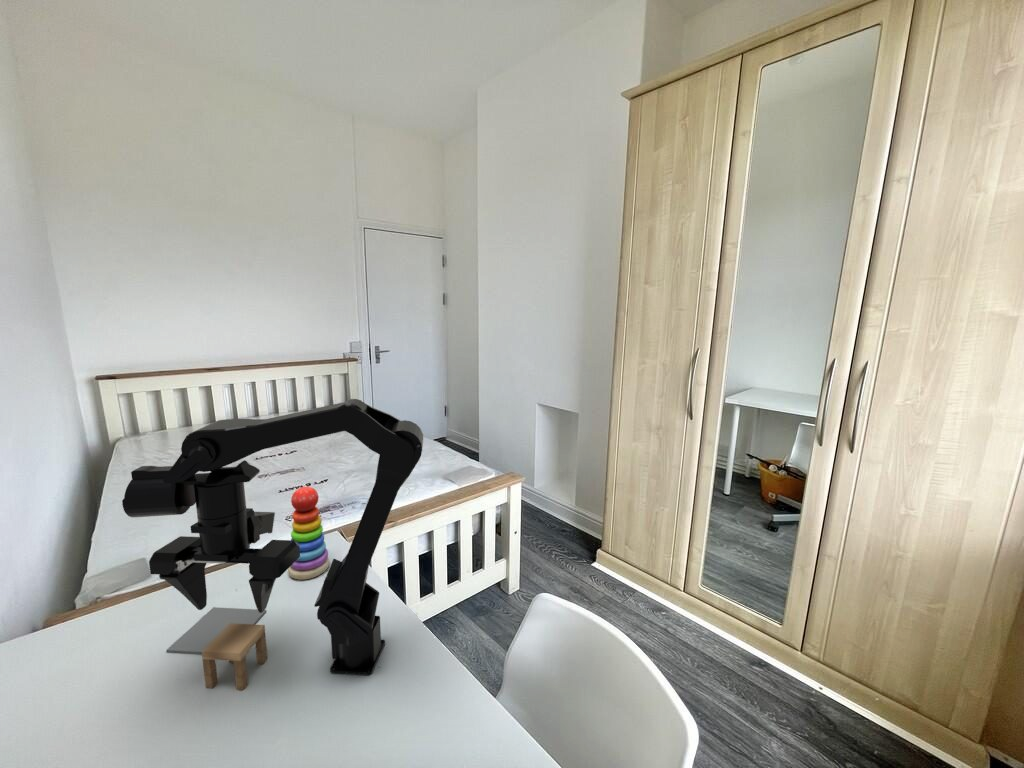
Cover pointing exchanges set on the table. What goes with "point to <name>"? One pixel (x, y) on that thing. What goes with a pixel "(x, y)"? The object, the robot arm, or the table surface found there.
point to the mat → (212, 628)
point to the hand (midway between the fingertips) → (232, 609)
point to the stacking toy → (308, 535)
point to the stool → (234, 651)
